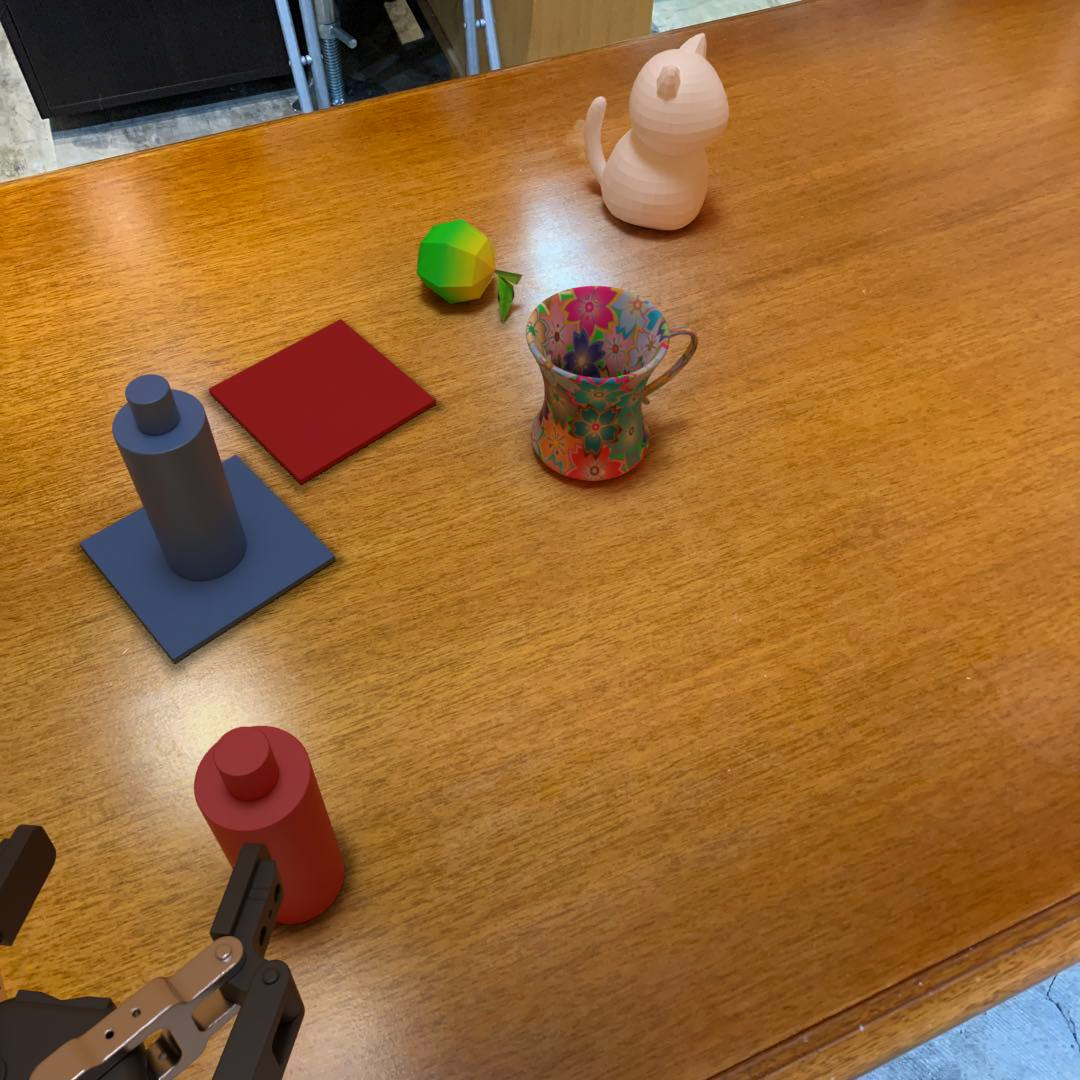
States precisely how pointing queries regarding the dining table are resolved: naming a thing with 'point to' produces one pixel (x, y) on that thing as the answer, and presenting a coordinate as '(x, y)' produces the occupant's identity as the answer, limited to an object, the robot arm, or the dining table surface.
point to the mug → (598, 378)
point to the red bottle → (272, 814)
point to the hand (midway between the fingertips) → (149, 845)
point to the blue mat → (217, 604)
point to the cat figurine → (662, 140)
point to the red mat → (321, 399)
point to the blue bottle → (179, 478)
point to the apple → (462, 265)
